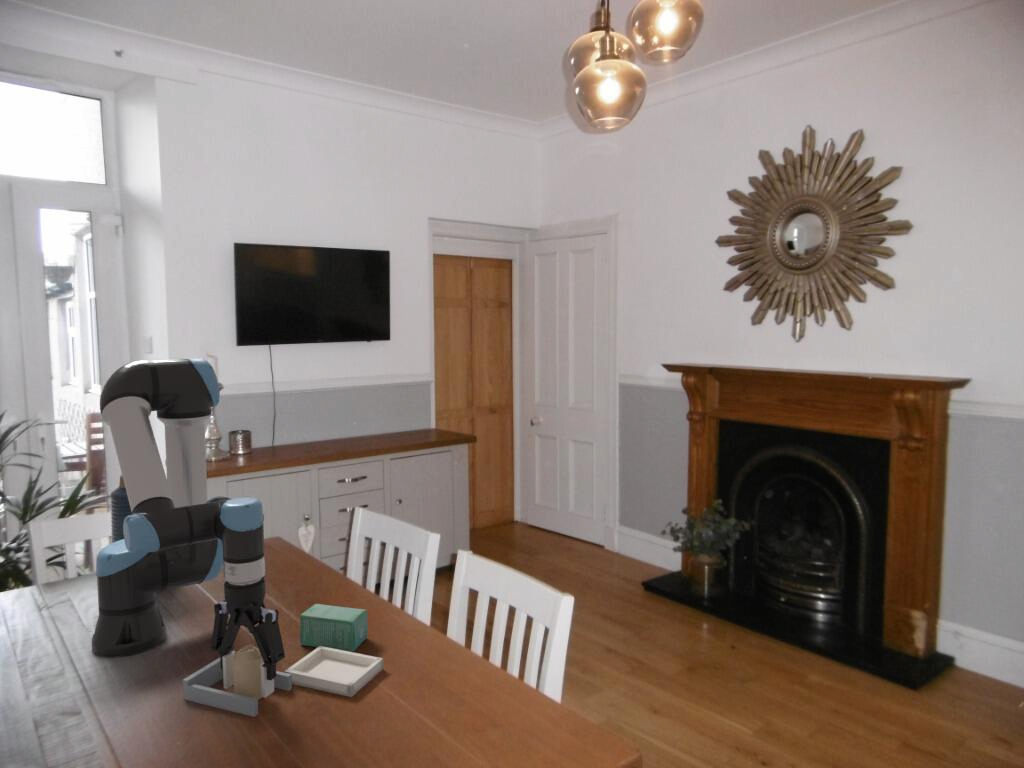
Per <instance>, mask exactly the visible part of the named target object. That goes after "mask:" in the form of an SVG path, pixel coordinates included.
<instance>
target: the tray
mask: <svg viewBox="0 0 1024 768" xmlns="http://www.w3.org/2000/svg"><path fill="white" fill-rule="evenodd" d="M383 670H384V658H383V657H378V656H373V655H370V654H369V655H367V654H362V653H359V652H358V653H357V652H351V651H343V650H338V649H333V648H328V647H323V646H319V647H315V649H314V650H312V651H311V652H309V653H308V654H307V655H305V656H304V657H302V658H300V660H298V661H297V662H295V663H294V664H292V665H290V666H289V667H288V668H287V669H285V670H284V671H283V673H288V674H292V685H296V686H300V687H304V688H307V689H308V688H309V689H313V690H318V691H323V692H328V693H330V694H331V693H332V694H335V695H340V696H343V697H345V696H346V697H348V698H353V696H354V695H356V694H357V693H358V692H359V691H360V690H361V689H363V688H364V687H365V686H366V685H367V684H368V683H369V682H370V681H372V680H373V679H374V678H375V677H376V676H378V674H380V673H381V672H382V671H383Z"/></svg>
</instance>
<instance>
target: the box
mask: <svg viewBox="0 0 1024 768" xmlns="http://www.w3.org/2000/svg"><path fill="white" fill-rule="evenodd" d="M299 616H300V646H306V647H312V648H313V647H314V648H318V647H319V646H323V647H328V648H333V649H338V650H343V651H348V652H353V653H355V651H356V650H357V648H359V646H361V645H362V644H363V642H364V641H365V640H366V639H367V637H368V626H369V624H368V623H369V622H368V610H367V609H365V608H356V607H355V608H354V607H345V606H337V605H330V604H329V605H327V604H323V603H321V604H320V603H315V604H313V605H311V606H310V607H309V608H308V609H307V610H305V611H304V612H302V613H301V614H300V615H299Z"/></svg>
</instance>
